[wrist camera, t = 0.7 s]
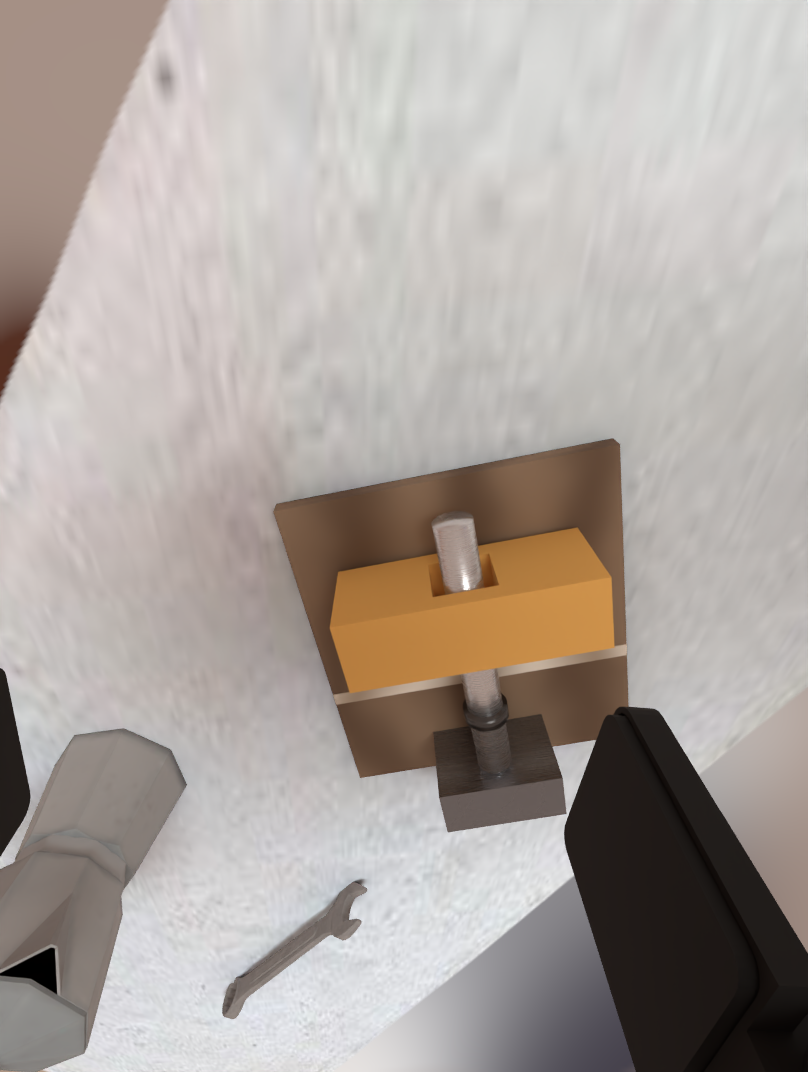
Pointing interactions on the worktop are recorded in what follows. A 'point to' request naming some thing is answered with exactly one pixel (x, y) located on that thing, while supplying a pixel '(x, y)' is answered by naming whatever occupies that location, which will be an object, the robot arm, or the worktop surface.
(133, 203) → the worktop surface
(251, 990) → the combination wrench
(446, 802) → the grey block with rod
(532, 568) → the collar
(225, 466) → the worktop surface
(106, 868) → the coffee maker
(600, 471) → the pipe board
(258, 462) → the worktop surface
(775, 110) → the worktop surface
